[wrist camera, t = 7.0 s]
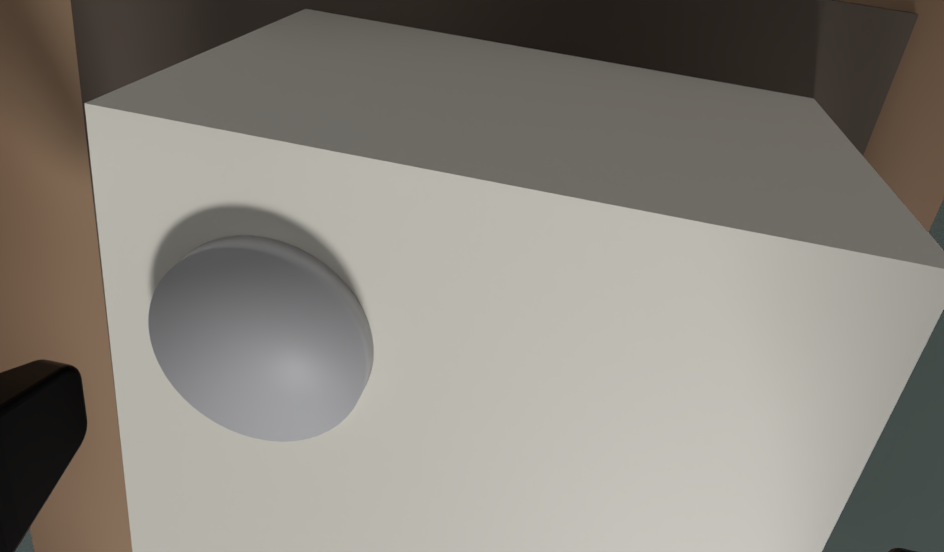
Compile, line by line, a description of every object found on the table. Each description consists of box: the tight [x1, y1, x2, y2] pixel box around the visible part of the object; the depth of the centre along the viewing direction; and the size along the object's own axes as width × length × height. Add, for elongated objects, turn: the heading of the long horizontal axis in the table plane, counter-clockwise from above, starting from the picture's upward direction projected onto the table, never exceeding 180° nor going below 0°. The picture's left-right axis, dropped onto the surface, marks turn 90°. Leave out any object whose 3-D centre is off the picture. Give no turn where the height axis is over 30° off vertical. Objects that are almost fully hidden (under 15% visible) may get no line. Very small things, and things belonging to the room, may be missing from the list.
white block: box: [84, 9, 944, 552], centre depth 9 cm, size 6×9×4 cm, turn 172°
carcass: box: [0, 0, 944, 552], centre depth 11 cm, size 12×14×5 cm
